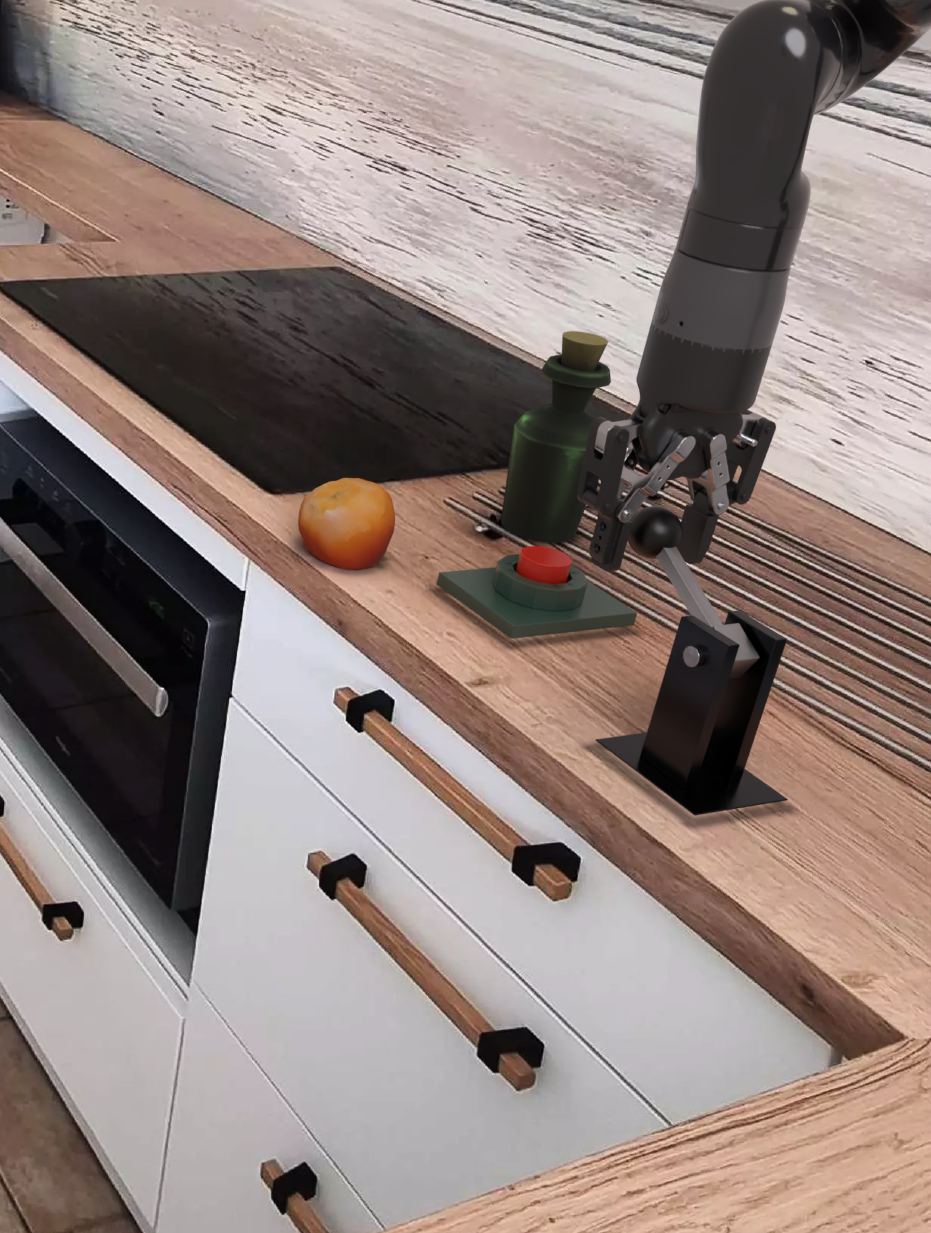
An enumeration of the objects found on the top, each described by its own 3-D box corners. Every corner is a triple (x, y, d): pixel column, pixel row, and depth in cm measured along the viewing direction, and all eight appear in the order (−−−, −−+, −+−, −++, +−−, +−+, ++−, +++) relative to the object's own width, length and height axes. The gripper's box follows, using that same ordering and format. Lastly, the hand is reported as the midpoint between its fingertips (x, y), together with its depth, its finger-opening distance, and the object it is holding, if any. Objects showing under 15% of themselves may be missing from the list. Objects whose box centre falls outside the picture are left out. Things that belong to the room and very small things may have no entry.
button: (545, 563, 144) (550, 543, 143) (577, 584, 140) (582, 564, 140) (505, 567, 142) (510, 547, 141) (536, 588, 139) (541, 568, 138)
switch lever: (607, 530, 123) (635, 496, 120) (648, 526, 124) (677, 493, 121) (699, 688, 116) (731, 656, 113) (741, 682, 117) (774, 651, 115)
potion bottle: (596, 535, 161) (648, 341, 152) (562, 559, 155) (613, 358, 146) (512, 508, 165) (558, 318, 156) (475, 530, 159) (521, 334, 150)
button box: (552, 585, 149) (563, 541, 147) (630, 637, 141) (643, 591, 139) (433, 596, 145) (443, 551, 143) (507, 651, 137) (519, 604, 135)
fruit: (428, 554, 149) (405, 482, 144) (355, 609, 147) (330, 539, 142) (367, 518, 155) (343, 448, 150) (297, 570, 153) (271, 501, 148)
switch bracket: (590, 754, 123) (634, 599, 118) (680, 741, 126) (727, 590, 121) (689, 830, 115) (741, 668, 110) (783, 814, 118) (838, 656, 113)
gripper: (664, 347, 109) (597, 595, 116) (840, 341, 114) (764, 578, 122) (586, 311, 115) (527, 548, 122) (756, 307, 120) (689, 534, 128)
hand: (646, 562), depth 122 cm, fingers open, 6 cm apart
